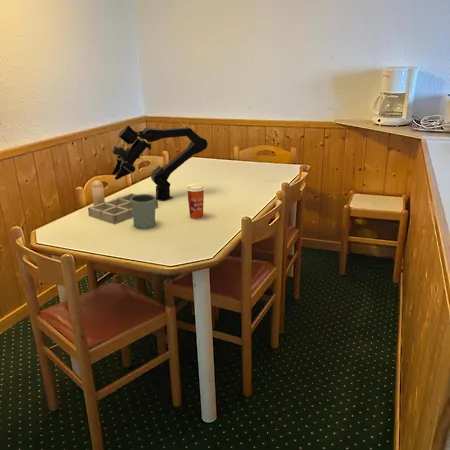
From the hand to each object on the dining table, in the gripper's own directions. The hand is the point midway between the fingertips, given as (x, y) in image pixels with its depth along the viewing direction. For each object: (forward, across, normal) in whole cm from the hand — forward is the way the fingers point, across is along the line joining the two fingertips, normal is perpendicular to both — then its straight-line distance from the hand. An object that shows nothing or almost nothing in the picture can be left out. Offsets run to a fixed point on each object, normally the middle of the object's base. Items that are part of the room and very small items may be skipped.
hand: (114, 176), depth 203 cm
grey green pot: (+5, +32, +15) cm, 35 cm away
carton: (+8, +12, +10) cm, 18 cm away
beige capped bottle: (+15, 0, +4) cm, 16 cm away
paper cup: (-11, +31, +31) cm, 45 cm away
